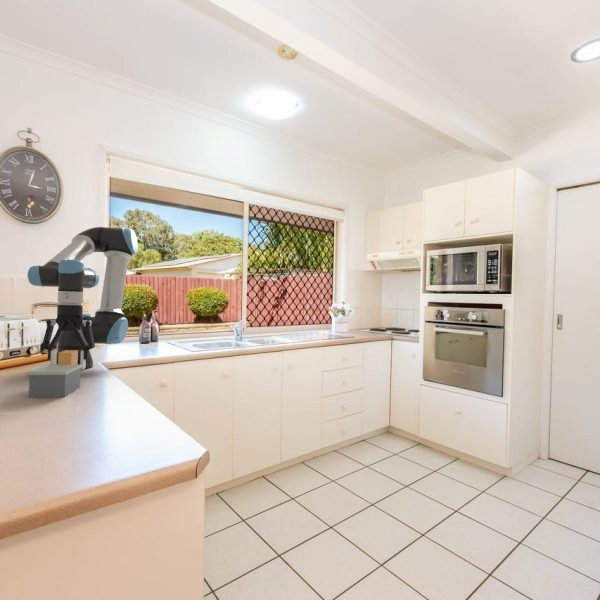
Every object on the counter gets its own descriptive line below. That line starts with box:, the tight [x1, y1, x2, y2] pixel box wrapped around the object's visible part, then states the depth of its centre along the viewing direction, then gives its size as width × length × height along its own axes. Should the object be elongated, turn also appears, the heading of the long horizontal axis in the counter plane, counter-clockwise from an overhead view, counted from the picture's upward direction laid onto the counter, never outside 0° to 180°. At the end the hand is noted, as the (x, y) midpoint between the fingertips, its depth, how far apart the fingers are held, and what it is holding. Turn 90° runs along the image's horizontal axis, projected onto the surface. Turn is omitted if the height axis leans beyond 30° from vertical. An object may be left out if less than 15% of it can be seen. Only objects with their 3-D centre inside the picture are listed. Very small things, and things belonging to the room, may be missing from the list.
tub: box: [28, 368, 81, 398], centre depth 120 cm, size 12×10×7 cm
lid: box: [27, 350, 82, 376], centre depth 122 cm, size 18×11×6 cm, turn 11°
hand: (68, 368), depth 128 cm, fingers open, 9 cm apart
